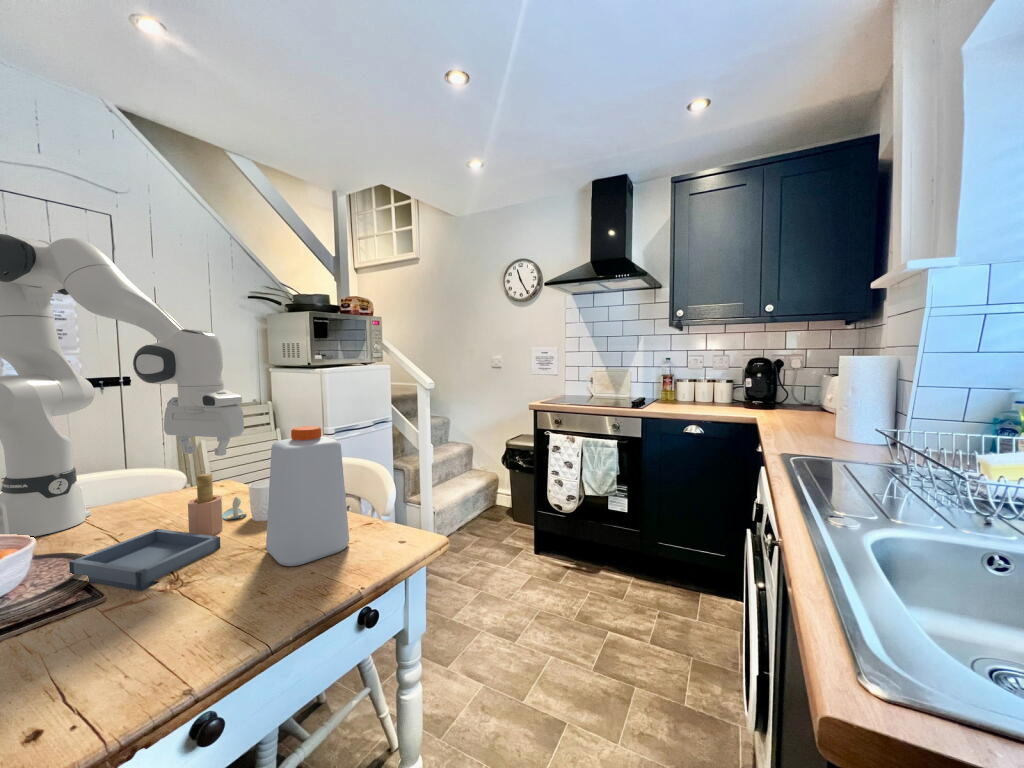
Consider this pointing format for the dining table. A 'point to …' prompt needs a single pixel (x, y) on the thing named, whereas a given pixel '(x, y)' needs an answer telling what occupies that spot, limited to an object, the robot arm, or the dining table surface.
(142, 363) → the robot arm
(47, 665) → the dining table surface
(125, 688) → the dining table surface
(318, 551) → the plastic bottle
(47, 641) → the dining table surface
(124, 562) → the navy tray
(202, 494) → the dowel pin
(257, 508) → the white cup
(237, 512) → the pacifier
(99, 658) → the dining table surface
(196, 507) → the terracotta cup
